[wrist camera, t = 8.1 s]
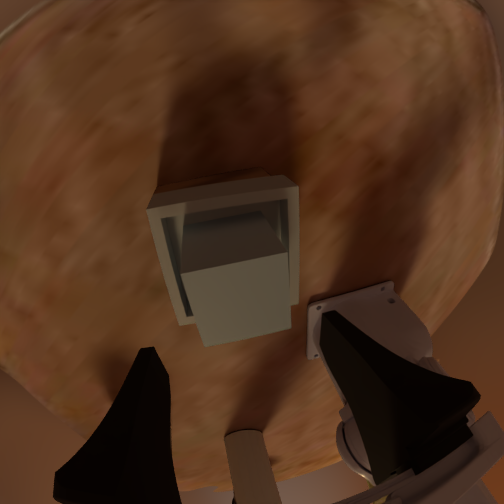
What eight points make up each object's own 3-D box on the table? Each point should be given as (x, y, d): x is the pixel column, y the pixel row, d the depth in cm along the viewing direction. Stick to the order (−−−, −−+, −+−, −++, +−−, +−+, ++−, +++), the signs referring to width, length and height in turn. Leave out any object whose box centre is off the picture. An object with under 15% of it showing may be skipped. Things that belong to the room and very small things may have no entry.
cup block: (283, 174, 16) (298, 186, 14) (286, 281, 20) (298, 303, 17) (153, 194, 15) (146, 209, 13) (179, 300, 19) (179, 325, 16)
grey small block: (260, 210, 16) (287, 252, 11) (267, 274, 18) (291, 328, 14) (183, 225, 15) (180, 274, 11) (199, 289, 17) (204, 347, 13)
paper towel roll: (248, 425, 34) (283, 554, 16) (268, 434, 37) (303, 547, 19) (209, 439, 35) (233, 560, 17) (232, 447, 38) (257, 555, 20)
